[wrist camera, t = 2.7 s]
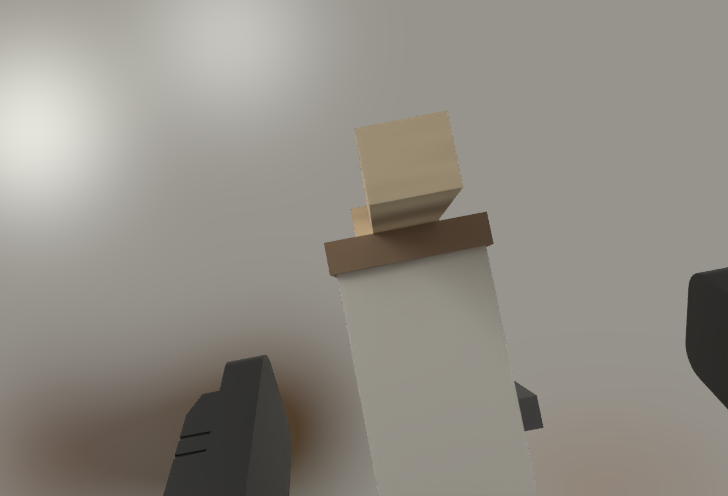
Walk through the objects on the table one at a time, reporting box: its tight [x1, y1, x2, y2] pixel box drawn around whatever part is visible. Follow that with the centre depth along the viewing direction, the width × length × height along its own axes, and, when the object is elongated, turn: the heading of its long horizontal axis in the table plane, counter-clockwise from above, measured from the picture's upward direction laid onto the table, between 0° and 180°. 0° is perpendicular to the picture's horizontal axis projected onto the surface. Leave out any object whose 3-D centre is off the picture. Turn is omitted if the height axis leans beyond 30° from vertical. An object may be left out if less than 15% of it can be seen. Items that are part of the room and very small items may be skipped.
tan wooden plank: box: [351, 111, 463, 237], centre depth 30 cm, size 22×5×2 cm, turn 178°
